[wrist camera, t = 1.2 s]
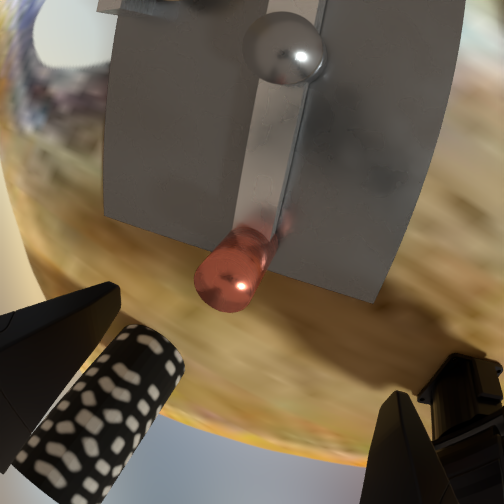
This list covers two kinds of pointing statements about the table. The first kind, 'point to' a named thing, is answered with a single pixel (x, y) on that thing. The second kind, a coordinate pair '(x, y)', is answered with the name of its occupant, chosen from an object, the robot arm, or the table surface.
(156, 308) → the table surface
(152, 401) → the spotted tube
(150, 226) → the base
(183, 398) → the table surface
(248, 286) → the lever
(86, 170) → the table surface
